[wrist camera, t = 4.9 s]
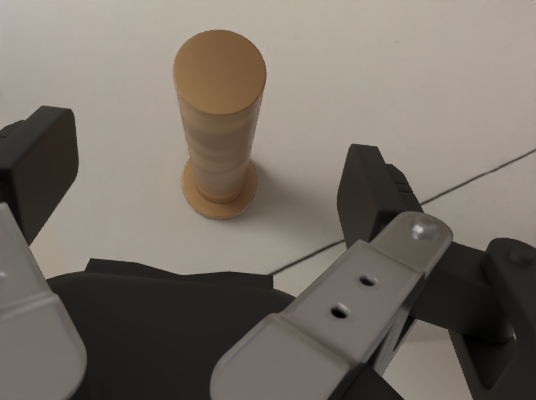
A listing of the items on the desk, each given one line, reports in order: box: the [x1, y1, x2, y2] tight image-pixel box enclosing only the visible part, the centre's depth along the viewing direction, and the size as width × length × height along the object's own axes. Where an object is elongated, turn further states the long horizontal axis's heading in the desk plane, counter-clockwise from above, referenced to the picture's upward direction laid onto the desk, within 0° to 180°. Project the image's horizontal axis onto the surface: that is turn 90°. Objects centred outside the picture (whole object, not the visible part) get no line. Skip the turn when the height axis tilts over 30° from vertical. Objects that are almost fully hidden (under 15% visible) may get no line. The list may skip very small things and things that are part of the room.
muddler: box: [173, 30, 266, 220], centre depth 19 cm, size 4×4×13 cm
